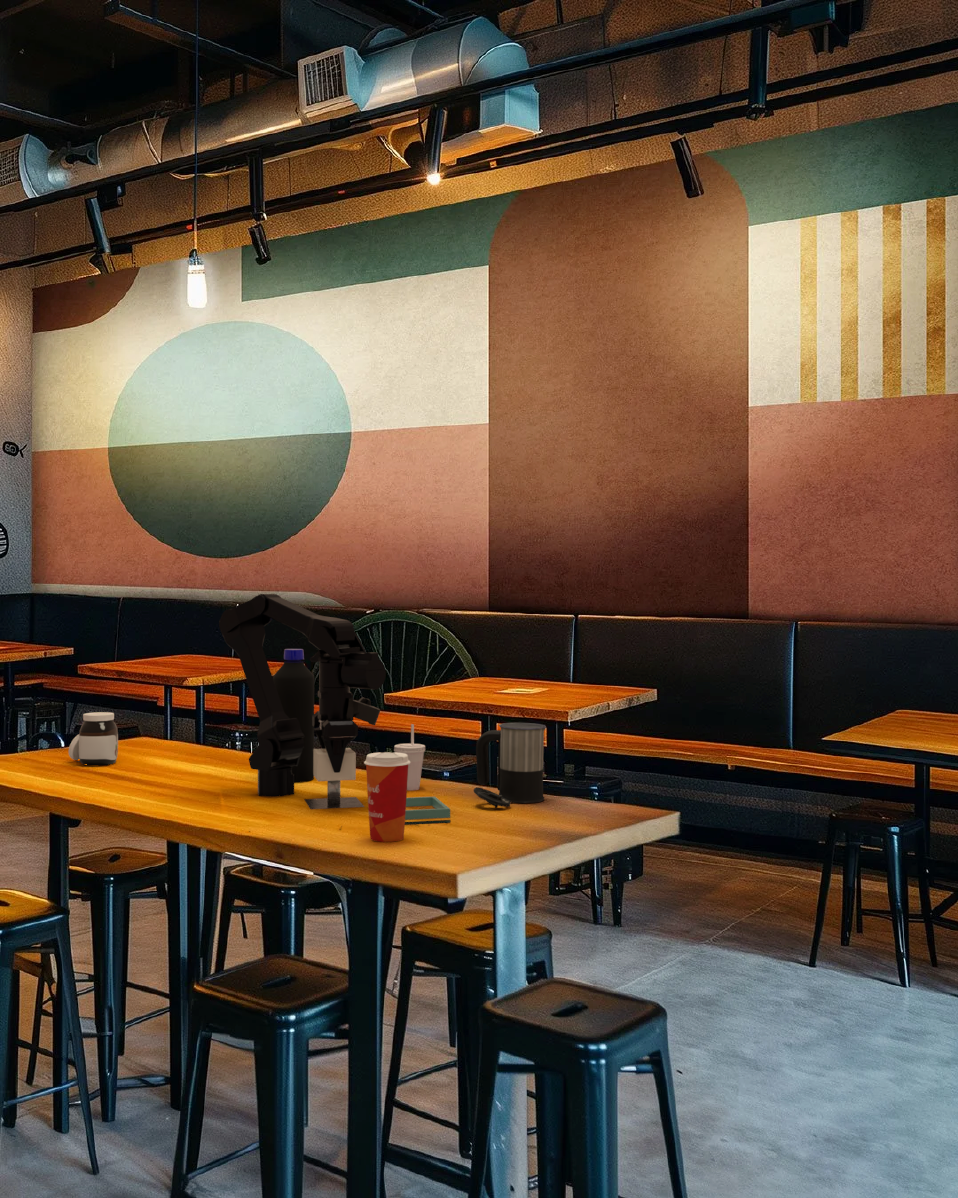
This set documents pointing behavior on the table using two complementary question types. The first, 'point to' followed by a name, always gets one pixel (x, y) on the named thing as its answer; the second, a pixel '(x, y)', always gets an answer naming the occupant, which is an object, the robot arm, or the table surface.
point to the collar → (324, 767)
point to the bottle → (298, 706)
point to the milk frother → (513, 764)
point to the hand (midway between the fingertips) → (334, 769)
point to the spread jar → (96, 740)
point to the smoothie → (412, 760)
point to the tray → (426, 810)
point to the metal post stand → (333, 799)
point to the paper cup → (387, 795)
